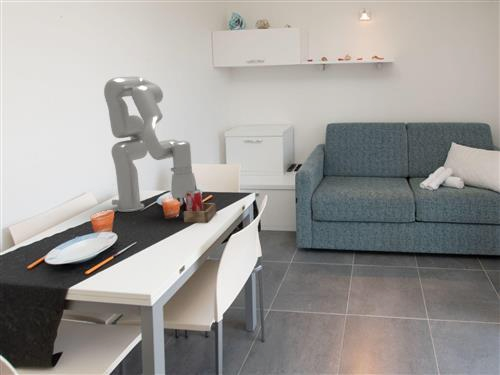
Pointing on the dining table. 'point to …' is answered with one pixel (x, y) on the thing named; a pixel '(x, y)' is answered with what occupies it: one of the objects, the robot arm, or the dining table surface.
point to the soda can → (194, 201)
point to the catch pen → (201, 214)
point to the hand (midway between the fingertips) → (186, 212)
